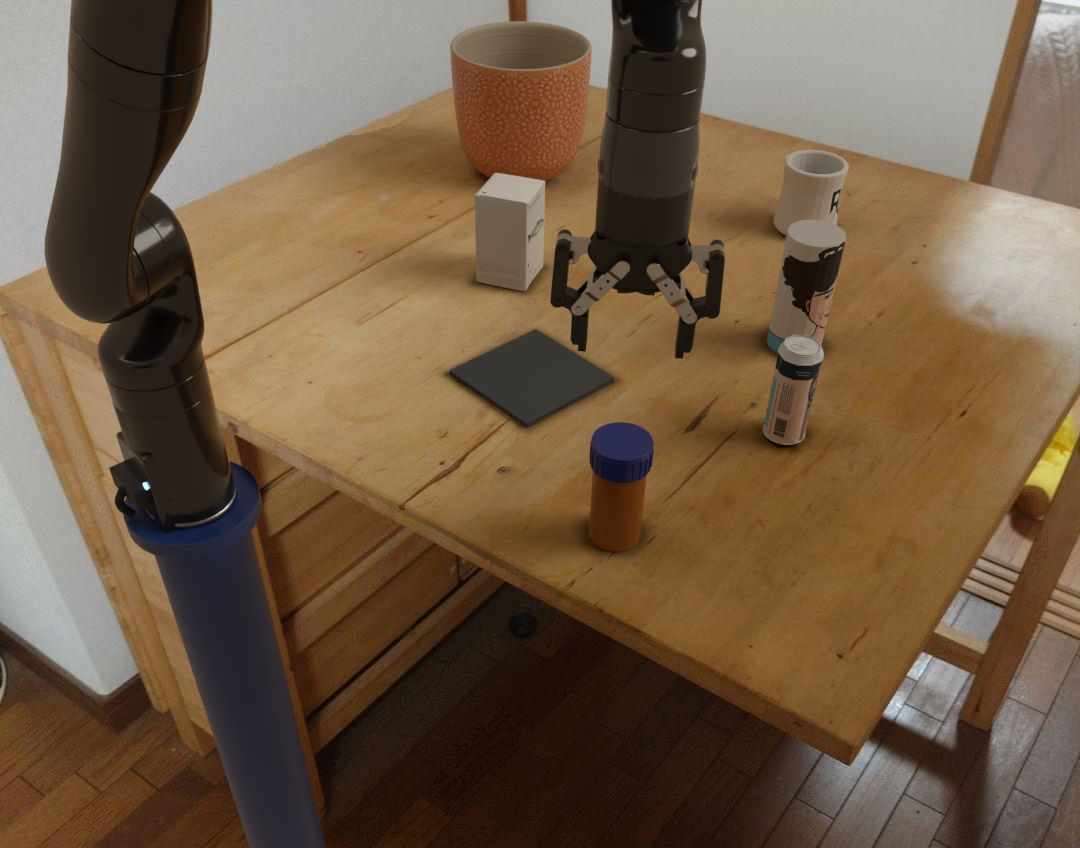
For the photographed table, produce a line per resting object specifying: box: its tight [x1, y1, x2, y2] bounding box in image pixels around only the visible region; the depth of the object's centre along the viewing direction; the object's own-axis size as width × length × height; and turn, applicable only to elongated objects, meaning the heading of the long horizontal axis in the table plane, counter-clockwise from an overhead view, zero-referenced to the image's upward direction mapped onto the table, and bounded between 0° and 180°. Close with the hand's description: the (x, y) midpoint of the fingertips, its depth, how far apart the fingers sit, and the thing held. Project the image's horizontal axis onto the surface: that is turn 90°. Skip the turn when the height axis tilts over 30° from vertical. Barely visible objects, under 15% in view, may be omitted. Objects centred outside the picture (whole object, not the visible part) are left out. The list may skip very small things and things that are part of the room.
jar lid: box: [588, 421, 655, 483], centre depth 101 cm, size 6×6×3 cm
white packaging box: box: [474, 173, 546, 292], centre depth 141 cm, size 7×7×13 cm
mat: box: [449, 328, 615, 428], centre depth 128 cm, size 14×14×1 cm
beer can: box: [762, 335, 825, 446], centre depth 116 cm, size 5×5×12 cm
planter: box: [449, 20, 593, 182], centre depth 163 cm, size 21×21×19 cm
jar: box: [588, 471, 648, 553], centre depth 104 cm, size 5×5×12 cm
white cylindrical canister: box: [766, 220, 847, 354], centre depth 129 cm, size 7×7×15 cm
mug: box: [773, 149, 850, 237], centre depth 154 cm, size 12×9×10 cm
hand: (630, 350), depth 93 cm, fingers open, 8 cm apart
